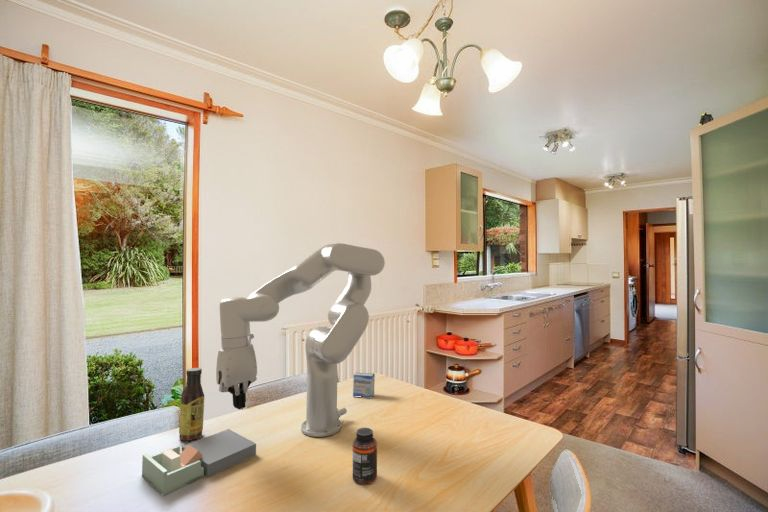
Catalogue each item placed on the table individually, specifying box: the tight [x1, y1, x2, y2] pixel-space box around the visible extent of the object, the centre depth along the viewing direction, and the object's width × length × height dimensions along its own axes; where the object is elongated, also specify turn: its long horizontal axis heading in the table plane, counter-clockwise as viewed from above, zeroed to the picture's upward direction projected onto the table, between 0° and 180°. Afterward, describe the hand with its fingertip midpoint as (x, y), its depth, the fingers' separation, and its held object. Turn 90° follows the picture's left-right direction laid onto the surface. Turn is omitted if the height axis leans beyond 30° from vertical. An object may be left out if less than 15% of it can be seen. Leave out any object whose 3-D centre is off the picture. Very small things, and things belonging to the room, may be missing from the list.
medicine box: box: [352, 371, 376, 398], centre depth 141 cm, size 8×4×9 cm, turn 81°
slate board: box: [181, 428, 257, 478], centre depth 95 cm, size 13×14×3 cm
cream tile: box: [162, 449, 181, 473], centre depth 85 cm, size 5×5×2 cm
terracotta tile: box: [180, 445, 203, 468], centre depth 88 cm, size 5×5×2 cm
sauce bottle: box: [178, 367, 205, 442], centre depth 106 cm, size 6×6×20 cm
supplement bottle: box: [352, 427, 378, 486], centre depth 86 cm, size 6×6×11 cm
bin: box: [141, 445, 205, 496], centre depth 86 cm, size 9×12×5 cm
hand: (239, 407), depth 99 cm, fingers closed
